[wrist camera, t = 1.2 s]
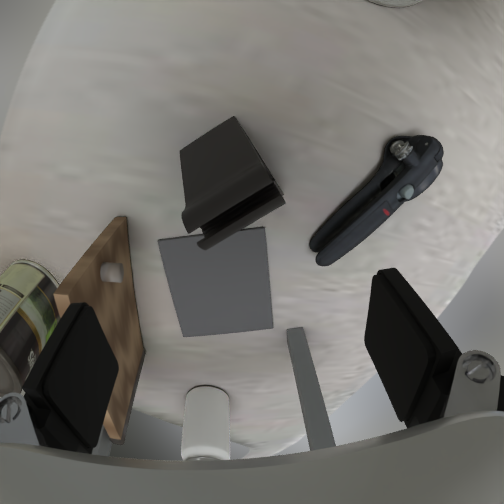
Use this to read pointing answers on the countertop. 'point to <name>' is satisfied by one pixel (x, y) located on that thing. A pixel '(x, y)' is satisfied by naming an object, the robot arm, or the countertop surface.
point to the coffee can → (24, 320)
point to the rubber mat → (219, 283)
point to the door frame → (307, 391)
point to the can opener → (380, 195)
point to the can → (206, 425)
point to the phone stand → (225, 184)
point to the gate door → (110, 315)
